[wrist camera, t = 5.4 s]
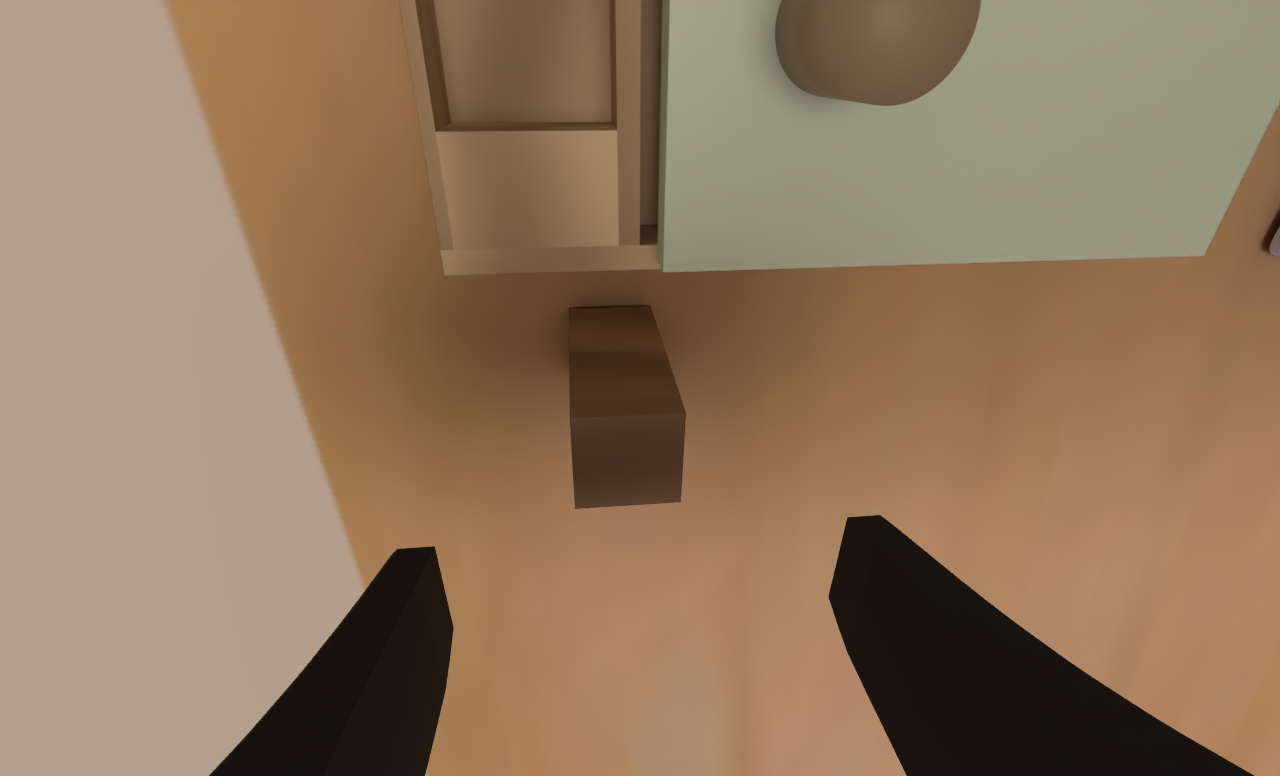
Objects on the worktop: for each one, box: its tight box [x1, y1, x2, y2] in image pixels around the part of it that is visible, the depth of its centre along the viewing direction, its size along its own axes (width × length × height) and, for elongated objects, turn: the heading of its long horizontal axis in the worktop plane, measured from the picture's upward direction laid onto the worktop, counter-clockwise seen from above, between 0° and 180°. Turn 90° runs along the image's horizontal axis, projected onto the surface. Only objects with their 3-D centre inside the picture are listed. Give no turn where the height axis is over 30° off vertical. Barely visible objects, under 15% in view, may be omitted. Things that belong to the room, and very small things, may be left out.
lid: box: [657, 0, 1280, 272], centre depth 11 cm, size 13×9×4 cm
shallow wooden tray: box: [399, 0, 662, 276], centre depth 13 cm, size 20×10×2 cm, turn 89°
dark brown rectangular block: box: [569, 306, 686, 509], centre depth 15 cm, size 2×2×6 cm
